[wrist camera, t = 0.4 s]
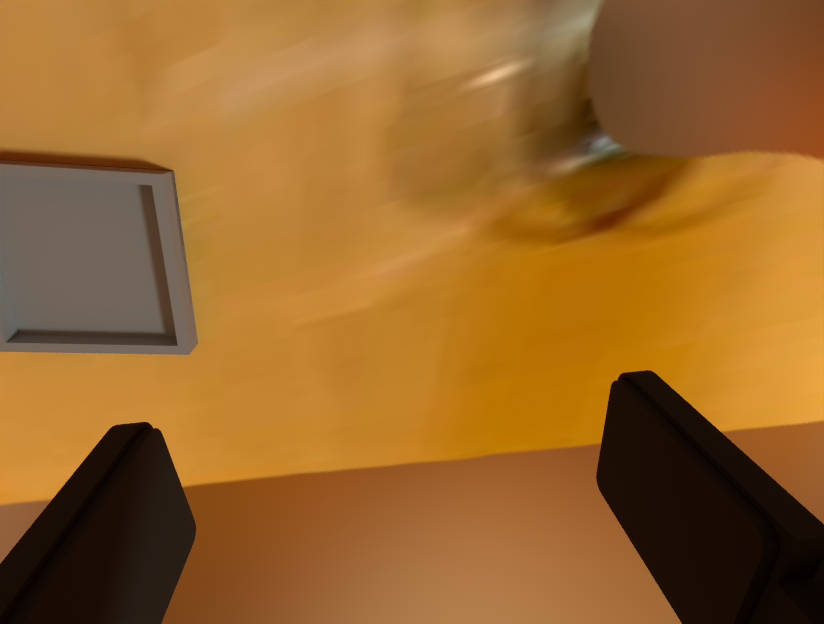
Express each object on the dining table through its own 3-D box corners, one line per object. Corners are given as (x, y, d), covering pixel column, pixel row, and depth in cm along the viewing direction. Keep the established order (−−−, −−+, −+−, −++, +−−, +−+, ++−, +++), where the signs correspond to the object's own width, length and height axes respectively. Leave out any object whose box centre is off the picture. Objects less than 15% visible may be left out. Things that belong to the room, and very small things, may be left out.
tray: (-45, 156, 38) (-71, 159, 36) (173, 170, 40) (162, 174, 38) (15, 339, 45) (-3, 351, 43) (197, 343, 47) (189, 354, 45)
